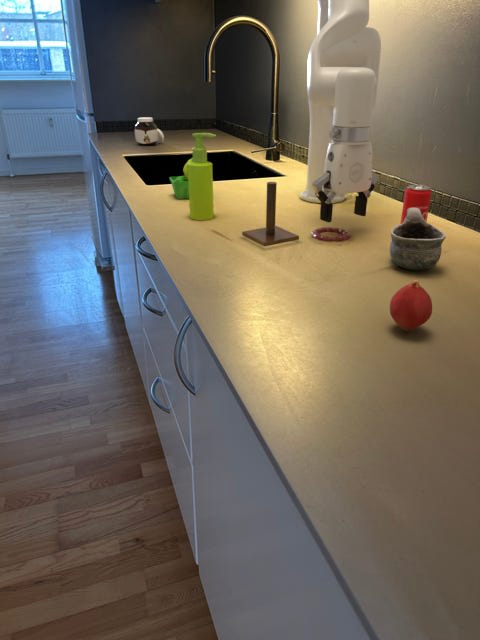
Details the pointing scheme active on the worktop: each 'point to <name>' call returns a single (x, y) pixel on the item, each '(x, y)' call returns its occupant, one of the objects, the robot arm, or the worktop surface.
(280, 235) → the stand
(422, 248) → the grey stoneware bowl
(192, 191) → the soap dispenser
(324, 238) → the ring
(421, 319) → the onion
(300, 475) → the worktop surface
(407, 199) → the beverage can
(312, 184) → the robot arm
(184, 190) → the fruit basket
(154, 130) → the spread jar
